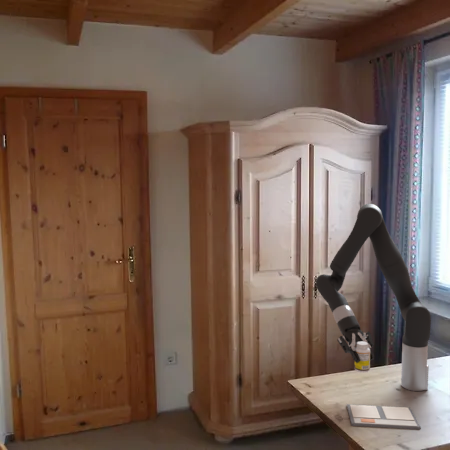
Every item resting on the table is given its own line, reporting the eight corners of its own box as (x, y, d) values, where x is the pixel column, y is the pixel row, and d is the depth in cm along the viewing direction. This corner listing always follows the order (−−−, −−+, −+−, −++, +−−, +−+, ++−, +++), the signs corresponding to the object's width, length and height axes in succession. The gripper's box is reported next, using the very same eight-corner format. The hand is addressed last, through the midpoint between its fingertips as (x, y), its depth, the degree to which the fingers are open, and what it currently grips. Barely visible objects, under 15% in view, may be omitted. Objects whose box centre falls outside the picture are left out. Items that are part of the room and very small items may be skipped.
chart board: (410, 409, 178) (410, 406, 178) (420, 429, 164) (420, 425, 164) (346, 406, 181) (346, 403, 181) (351, 425, 167) (351, 422, 167)
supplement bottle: (358, 365, 189) (358, 339, 188) (372, 369, 185) (373, 342, 184) (351, 370, 185) (352, 343, 184) (365, 374, 181) (366, 346, 180)
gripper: (334, 317, 187) (354, 359, 177) (365, 312, 193) (386, 352, 183) (326, 327, 192) (344, 368, 183) (356, 322, 198) (376, 362, 188)
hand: (365, 360), depth 183 cm, fingers closed on supplement bottle, 5 cm apart
